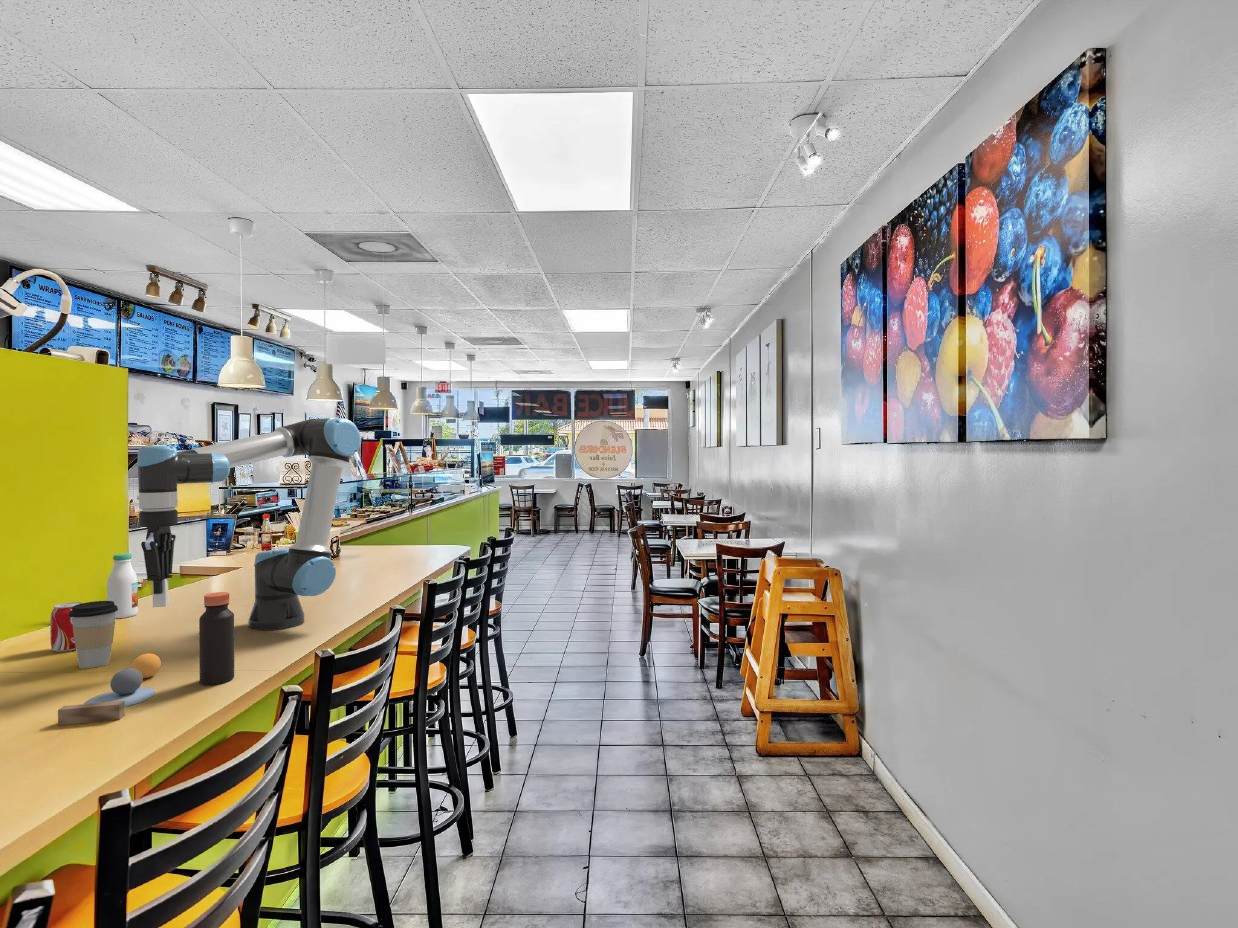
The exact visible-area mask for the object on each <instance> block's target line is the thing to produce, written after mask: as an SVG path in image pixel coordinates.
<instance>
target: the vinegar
mask: <svg viewBox="0 0 1238 928" xmlns="http://www.w3.org/2000/svg"><path fill="white" fill-rule="evenodd" d="M203 601H204V602H203V604H204V608H205V611H204V612H203V613H202V614H201V615H200V616H199V621H198V623H199V627H198V629H199V630H198V631H199V634H198V636H199V637H198V639H199V643H198V644H199V646H198V648H199V651H198V652H199V654H198V655H199V683H200V684H201V685H203V686H214V685H220V684H225V683H228V682H230V681H232V680H233V679H234V678H235V613H234V612H233V611H232V610H230V609H229V608H228V607H229V605H230V592H226V591H219V592H218V591H217V592H216V591H215V592H211V593H210V592H209V593H206V594H205V595H204V596H203Z"/></svg>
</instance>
